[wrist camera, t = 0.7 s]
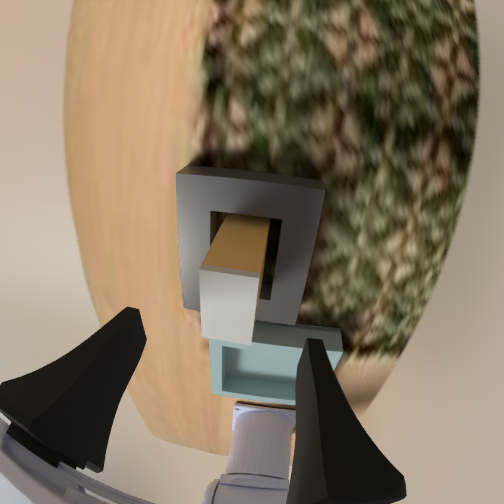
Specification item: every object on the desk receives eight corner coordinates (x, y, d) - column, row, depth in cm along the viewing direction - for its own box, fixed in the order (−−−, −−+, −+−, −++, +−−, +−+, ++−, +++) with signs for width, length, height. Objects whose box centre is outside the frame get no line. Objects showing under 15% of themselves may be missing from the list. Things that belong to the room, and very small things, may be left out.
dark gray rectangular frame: (295, 308, 21) (294, 325, 19) (190, 292, 21) (183, 308, 20) (322, 180, 16) (325, 190, 14) (186, 165, 16) (175, 173, 15)
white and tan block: (263, 274, 20) (250, 345, 14) (226, 268, 20) (202, 336, 14) (270, 215, 17) (259, 278, 12) (228, 210, 17) (198, 269, 12)
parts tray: (313, 386, 26) (314, 406, 24) (216, 373, 27) (211, 393, 25) (340, 328, 21) (343, 351, 19) (216, 311, 22) (208, 334, 20)
